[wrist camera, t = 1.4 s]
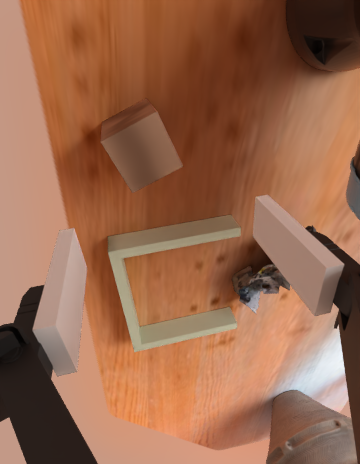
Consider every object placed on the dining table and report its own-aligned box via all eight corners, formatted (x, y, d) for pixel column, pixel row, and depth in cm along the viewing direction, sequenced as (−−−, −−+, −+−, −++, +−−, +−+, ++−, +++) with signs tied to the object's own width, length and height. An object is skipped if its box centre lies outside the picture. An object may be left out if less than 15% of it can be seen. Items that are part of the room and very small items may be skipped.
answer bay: (231, 214, 46) (240, 227, 42) (229, 312, 57) (236, 328, 54) (107, 236, 43) (107, 252, 40) (132, 333, 55) (134, 352, 52)
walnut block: (146, 97, 35) (157, 111, 27) (168, 143, 38) (183, 166, 30) (102, 122, 35) (100, 141, 27) (127, 165, 38) (132, 193, 31)
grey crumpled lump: (214, 273, 47) (315, 266, 39) (228, 229, 54) (315, 214, 46) (240, 316, 53) (332, 317, 45) (249, 270, 60) (330, 264, 52)
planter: (267, 370, 72) (321, 480, 54) (344, 368, 79) (416, 464, 61) (234, 426, 84) (269, 531, 65) (304, 419, 91) (353, 513, 72)
